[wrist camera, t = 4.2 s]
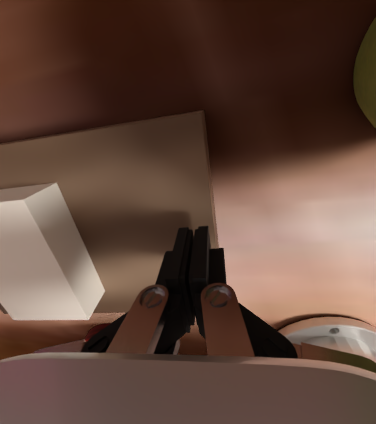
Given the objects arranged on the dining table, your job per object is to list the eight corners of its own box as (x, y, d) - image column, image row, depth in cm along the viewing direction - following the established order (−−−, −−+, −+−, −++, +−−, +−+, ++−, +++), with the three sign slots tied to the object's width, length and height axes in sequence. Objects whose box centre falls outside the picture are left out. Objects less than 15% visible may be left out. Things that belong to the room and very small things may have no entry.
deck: (221, 274, 20) (223, 311, 16) (36, 281, 23) (4, 313, 19) (204, 109, 14) (201, 112, 10) (-46, 151, 17) (-115, 163, 13)
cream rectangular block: (105, 291, 17) (88, 320, 14) (38, 292, 18) (13, 320, 15) (56, 182, 13) (23, 199, 10) (-26, 192, 14) (-73, 210, 11)
